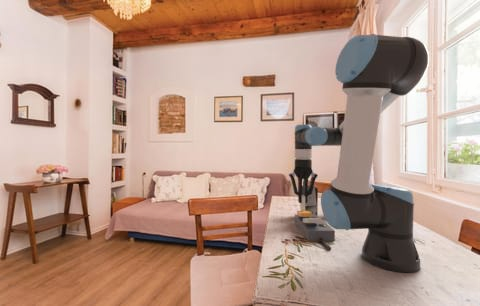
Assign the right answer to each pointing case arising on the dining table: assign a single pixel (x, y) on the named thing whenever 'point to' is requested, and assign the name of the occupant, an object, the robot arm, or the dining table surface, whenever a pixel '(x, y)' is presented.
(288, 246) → the dining table surface
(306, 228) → the power strip
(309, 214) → the amber rocker
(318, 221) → the grey rocker
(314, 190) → the coffee box
